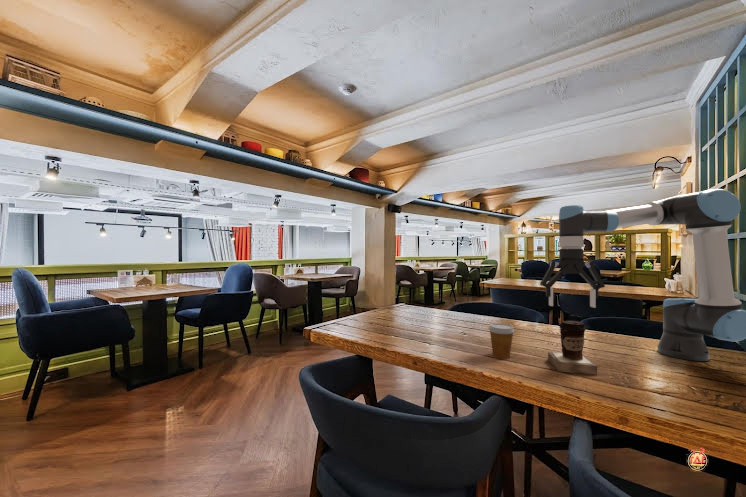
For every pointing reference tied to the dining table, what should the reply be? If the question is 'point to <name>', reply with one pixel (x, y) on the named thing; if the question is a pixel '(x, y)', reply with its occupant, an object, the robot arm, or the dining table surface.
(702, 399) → the dining table surface
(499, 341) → the disposable coffee cup
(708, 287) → the robot arm
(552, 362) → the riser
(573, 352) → the coffee cup
